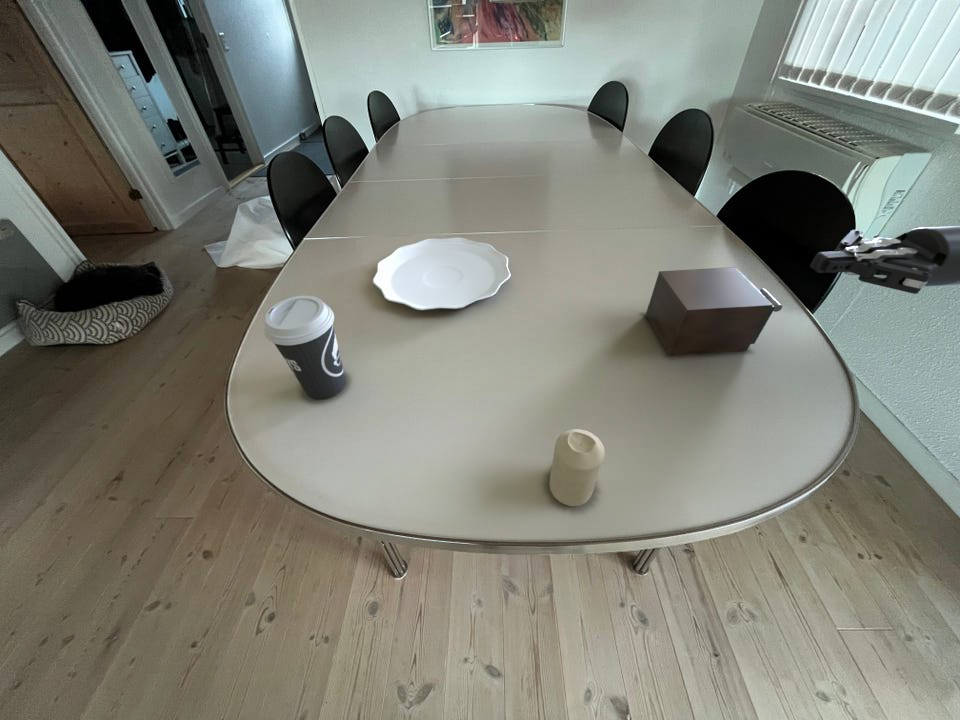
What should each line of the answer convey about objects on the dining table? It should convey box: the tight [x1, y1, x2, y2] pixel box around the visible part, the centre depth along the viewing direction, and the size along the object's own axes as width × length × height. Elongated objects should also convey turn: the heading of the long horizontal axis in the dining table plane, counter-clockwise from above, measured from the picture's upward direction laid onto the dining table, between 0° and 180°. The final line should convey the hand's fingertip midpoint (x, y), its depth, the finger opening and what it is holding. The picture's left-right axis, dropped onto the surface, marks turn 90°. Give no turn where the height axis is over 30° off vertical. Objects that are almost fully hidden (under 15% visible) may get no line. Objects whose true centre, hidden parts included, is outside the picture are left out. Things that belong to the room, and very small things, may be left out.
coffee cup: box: [263, 295, 347, 401], centre depth 62 cm, size 10×10×15 cm
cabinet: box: [645, 266, 773, 356], centre depth 71 cm, size 14×12×10 cm
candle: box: [549, 428, 605, 507], centre depth 49 cm, size 6×6×10 cm
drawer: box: [740, 272, 783, 345], centre depth 71 cm, size 16×10×8 cm, turn 93°
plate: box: [372, 237, 511, 312], centre depth 89 cm, size 29×29×2 cm
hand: (816, 262), depth 53 cm, fingers closed
